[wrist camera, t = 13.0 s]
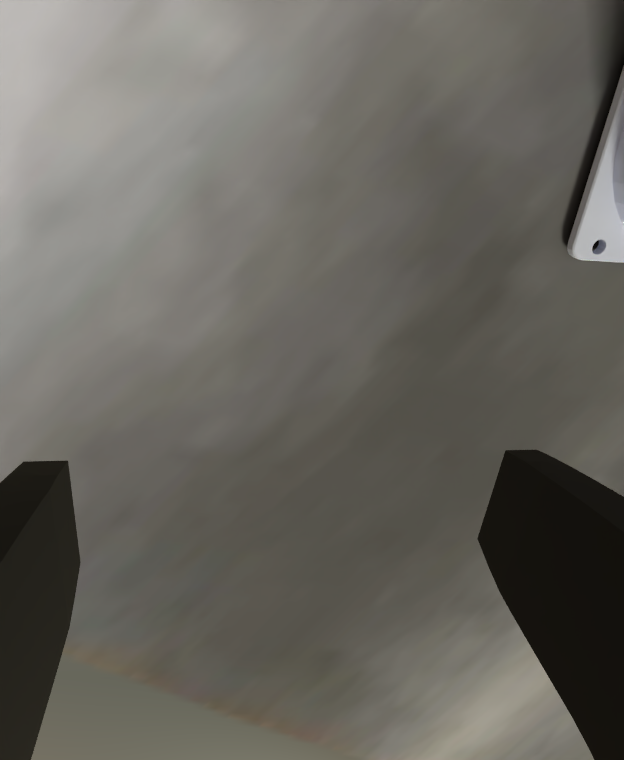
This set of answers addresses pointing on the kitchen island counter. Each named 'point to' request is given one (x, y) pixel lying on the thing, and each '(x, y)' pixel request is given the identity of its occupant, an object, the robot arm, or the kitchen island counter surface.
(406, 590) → the kitchen island counter surface
